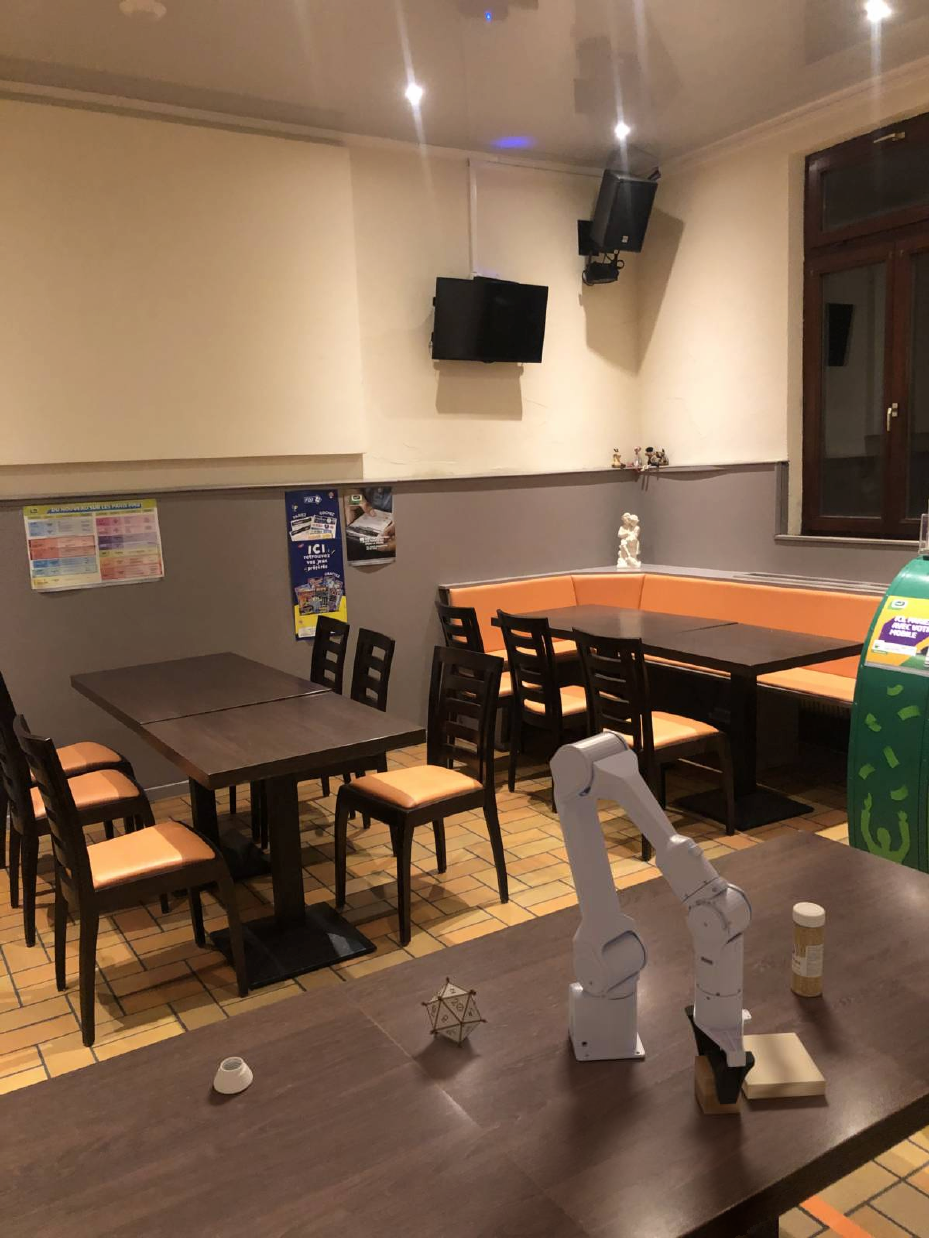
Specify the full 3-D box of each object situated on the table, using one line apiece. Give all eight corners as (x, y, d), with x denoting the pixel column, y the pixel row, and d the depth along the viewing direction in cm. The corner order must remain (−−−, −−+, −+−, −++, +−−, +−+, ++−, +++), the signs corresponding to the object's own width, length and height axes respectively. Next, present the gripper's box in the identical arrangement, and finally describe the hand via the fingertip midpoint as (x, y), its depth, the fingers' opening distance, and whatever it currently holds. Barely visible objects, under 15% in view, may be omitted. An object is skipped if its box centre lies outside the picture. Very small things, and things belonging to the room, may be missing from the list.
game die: (469, 1058, 134) (509, 1012, 131) (429, 1067, 128) (470, 1019, 125) (438, 1005, 140) (476, 960, 137) (399, 1011, 133) (437, 964, 131)
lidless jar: (206, 1091, 123) (238, 1099, 122) (205, 1071, 123) (237, 1079, 121) (228, 1068, 128) (259, 1075, 126) (226, 1049, 127) (258, 1056, 126)
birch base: (747, 1098, 118) (748, 1084, 118) (723, 1049, 128) (723, 1036, 128) (824, 1094, 119) (825, 1080, 118) (794, 1045, 129) (794, 1032, 128)
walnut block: (704, 1114, 116) (704, 1078, 115) (694, 1090, 120) (694, 1055, 120) (739, 1112, 116) (740, 1076, 115) (728, 1088, 121) (729, 1053, 120)
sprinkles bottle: (785, 982, 144) (787, 902, 141) (813, 980, 144) (816, 899, 142) (798, 999, 139) (801, 916, 137) (827, 997, 140) (831, 914, 137)
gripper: (771, 1015, 108) (769, 1119, 111) (731, 951, 123) (730, 1044, 125) (712, 1019, 108) (711, 1123, 111) (678, 954, 122) (678, 1047, 125)
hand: (717, 1081), depth 118 cm, fingers open, 7 cm apart
